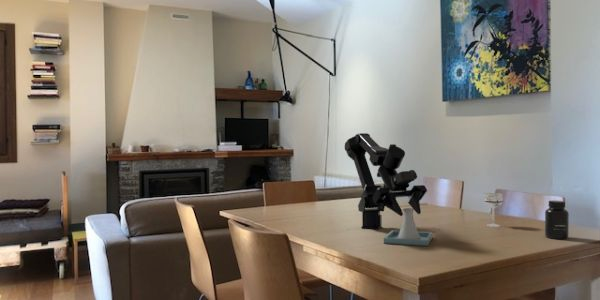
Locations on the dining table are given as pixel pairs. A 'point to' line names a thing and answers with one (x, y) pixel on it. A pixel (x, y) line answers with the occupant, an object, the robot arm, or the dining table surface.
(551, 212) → the supplement bottle
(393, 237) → the tray
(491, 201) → the wineglass
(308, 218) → the dining table surface
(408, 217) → the flask
